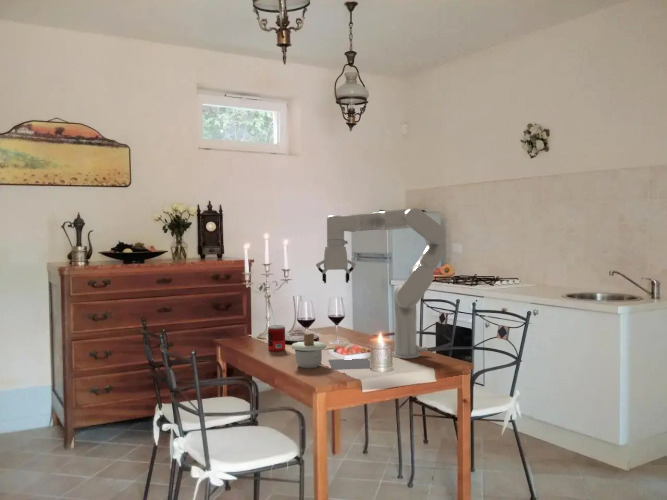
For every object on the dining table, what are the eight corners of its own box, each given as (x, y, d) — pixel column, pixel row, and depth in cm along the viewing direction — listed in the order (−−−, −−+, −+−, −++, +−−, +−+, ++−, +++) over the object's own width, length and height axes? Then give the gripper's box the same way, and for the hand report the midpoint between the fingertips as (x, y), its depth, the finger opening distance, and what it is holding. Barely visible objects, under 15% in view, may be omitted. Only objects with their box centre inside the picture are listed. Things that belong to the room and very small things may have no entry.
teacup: (318, 371, 234) (318, 351, 233) (291, 369, 236) (291, 350, 236) (326, 363, 247) (325, 344, 247) (301, 361, 250) (300, 343, 249)
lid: (324, 343, 249) (324, 330, 248) (327, 350, 235) (327, 336, 234) (291, 344, 247) (291, 331, 247) (292, 351, 233) (292, 337, 233)
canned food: (288, 349, 275) (288, 325, 275) (279, 352, 268) (278, 328, 267) (274, 347, 279) (274, 324, 278) (264, 350, 272) (264, 327, 271)
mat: (367, 359, 253) (367, 358, 253) (374, 369, 236) (374, 368, 236) (328, 360, 251) (328, 359, 251) (332, 370, 234) (332, 369, 234)
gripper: (354, 243, 263) (354, 281, 263) (315, 243, 261) (315, 282, 261) (356, 243, 255) (356, 283, 256) (316, 244, 253) (316, 284, 254)
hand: (335, 282), depth 259 cm, fingers open, 9 cm apart
